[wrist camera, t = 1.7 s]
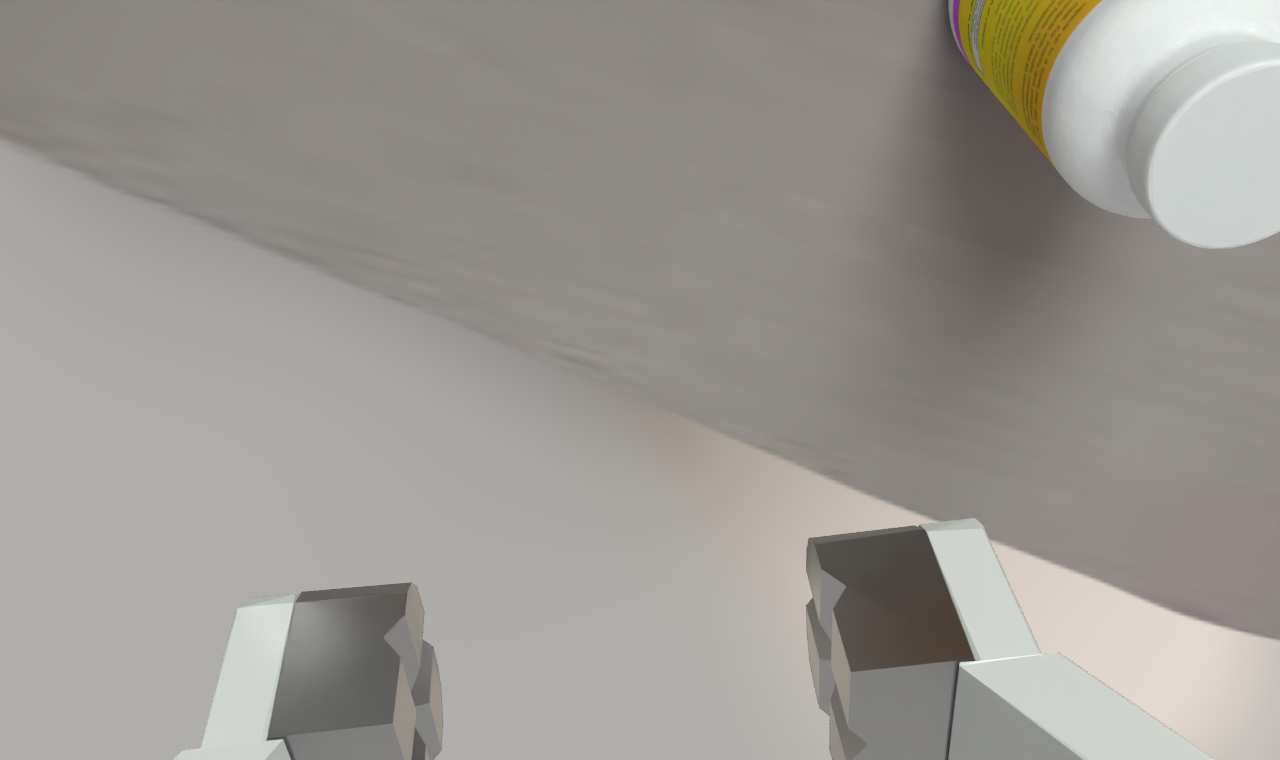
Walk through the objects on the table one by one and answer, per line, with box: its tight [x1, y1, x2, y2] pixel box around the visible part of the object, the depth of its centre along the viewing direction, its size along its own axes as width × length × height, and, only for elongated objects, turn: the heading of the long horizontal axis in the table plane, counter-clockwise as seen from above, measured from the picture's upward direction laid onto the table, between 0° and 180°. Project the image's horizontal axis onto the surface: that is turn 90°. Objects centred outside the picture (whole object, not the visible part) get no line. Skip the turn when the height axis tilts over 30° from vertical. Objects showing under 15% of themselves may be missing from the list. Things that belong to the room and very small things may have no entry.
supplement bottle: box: [949, 0, 1280, 249], centre depth 33 cm, size 7×7×13 cm
